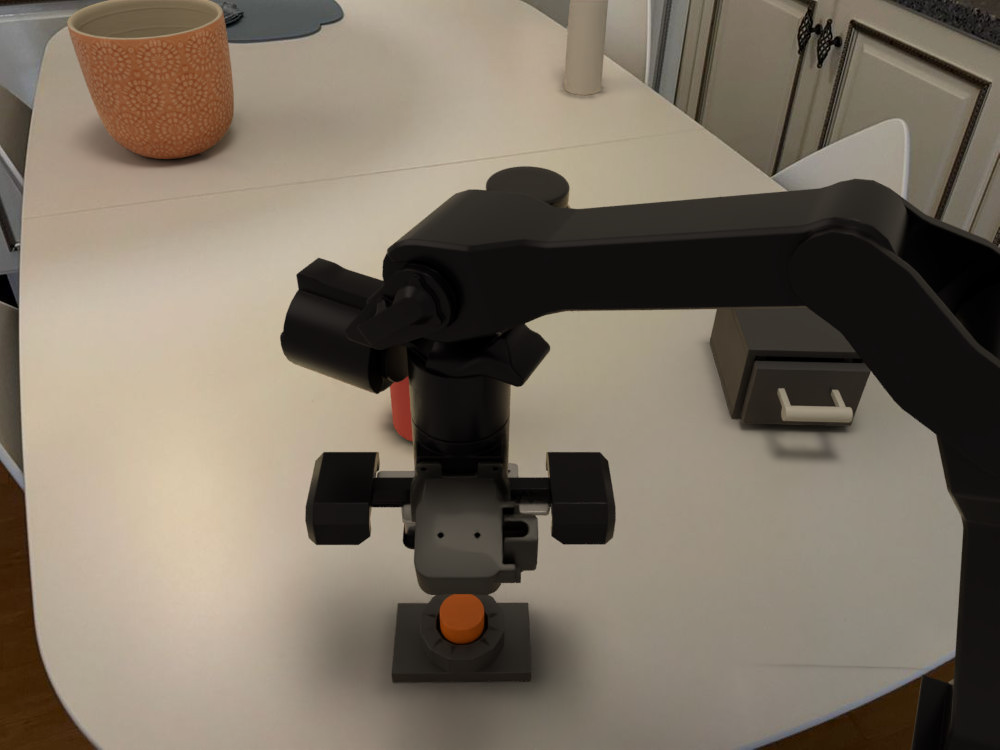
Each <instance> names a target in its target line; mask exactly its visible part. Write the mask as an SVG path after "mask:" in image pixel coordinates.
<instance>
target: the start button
mask: <svg viewBox="0 0 1000 750" xmlns="http://www.w3.org/2000/svg"><path fill="white" fill-rule="evenodd" d="M440 628H441V632H442V634H443V635H444V637H445V638H446V639H447V640H449V641H450V642H453V643H456V644H468V643H471V642H473V641H475V640H476V639H478V638H479V637H480V635H481V634H482V632H483V630H484V606H483V604H482V602H481V601H480V600H479V599H478V598H477V597H476V596H474V595H471V594H453V595H451V596H449V597H448V598H446V599H445V600H444V602H443V603H442V605H441V607H440Z"/></svg>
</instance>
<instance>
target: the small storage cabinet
mask: <svg viewBox="0 0 1000 750" xmlns="http://www.w3.org/2000/svg"><path fill="white" fill-rule="evenodd" d="M715 310H716V311H715V316H714V320H713V325H712V330H711V335H710V339H709V345H710V348H711V351H712V355H713V358H714V362H715V366H716V368H717V372H718V373H717V374H718V376H719V379H720V383H721V387H722V390H723V393H724V397H725V400H726V404H727V408H728V411H729V414H730V418H731V419H732V420H735V419H737V420H742V419H741V412H742V408H743V404H744V399H745V395H746V391H747V387H748V383H749V380H750V376H751V372H752V368H753V364H754V360H755V356H769V357H811V358H852V359H853V361H852V363H864V362H863V360H862V359H861V358H860V356H859V355H858V354H857V353H856V351H855V350H854V349H853V347H852V346H851V345H850V343H849V342H848V341H847V340H846V338H845V337H844V336H843V334H842V333H841V332H839V331H838V330H837V329H835V328H834V327H833V326H831V325H830V324H829V323H827V322H826V321H825V320H823V319H822V318H821V317H819V316H818V315H817V314H815V313H814V312H813V311H811V310H810V309H809V308H765V309H715Z"/></svg>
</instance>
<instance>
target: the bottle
mask: <svg viewBox="0 0 1000 750" xmlns="http://www.w3.org/2000/svg"><path fill="white" fill-rule="evenodd" d="M608 8H609V0H569V7H568V21H567V22H568V23H567V35H566V50H565V63H564V79H563V89H564V91H566V92H568V94H572V95H577V96H590V95H591V96H592V95H595V94H598V93H600V91H601V90H602V80H603V69H604V57H605V56H604V55H605V45H606V33H607V19H608V10H609V9H608Z"/></svg>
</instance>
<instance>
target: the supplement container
mask: <svg viewBox="0 0 1000 750" xmlns="http://www.w3.org/2000/svg"><path fill="white" fill-rule="evenodd" d="M570 187H571V186H570V184H569V182H568V180H567V179H566V178H565V177H564V176H563V175H561V174H560V173H558V172H556V171H554V170H551V169H549V168H544V167H539V166H531V165H527V166H526V165H523V166H513V167H512V166H511V167H507V168H504V169H501V170H498V171H496V172H495V173H493V174H491V175H490V176H489V177H488V179H487V180H486V181H485V190H489V191H501V192H512V193H524V194H528V195H531V196H533V197H535V198H537V199H539V200H541V201H543V202H545V203H547V204H549V205H551V206H554V207H562V208H571V206H570V204H569V202H570V189H571V188H570Z"/></svg>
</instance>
